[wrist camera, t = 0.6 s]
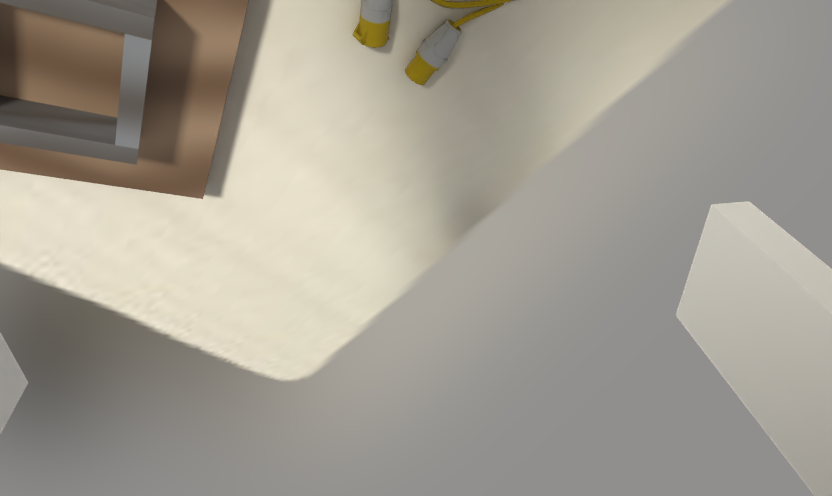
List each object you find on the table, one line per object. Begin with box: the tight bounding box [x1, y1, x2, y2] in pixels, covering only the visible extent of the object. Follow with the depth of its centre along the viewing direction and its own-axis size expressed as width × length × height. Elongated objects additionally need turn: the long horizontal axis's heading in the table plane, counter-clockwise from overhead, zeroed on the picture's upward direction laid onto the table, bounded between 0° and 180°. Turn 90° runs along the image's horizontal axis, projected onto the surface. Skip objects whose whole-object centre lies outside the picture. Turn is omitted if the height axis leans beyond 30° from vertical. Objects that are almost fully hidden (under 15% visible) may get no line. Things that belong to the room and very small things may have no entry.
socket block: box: [0, 0, 249, 199], centre depth 30 cm, size 18×18×4 cm
